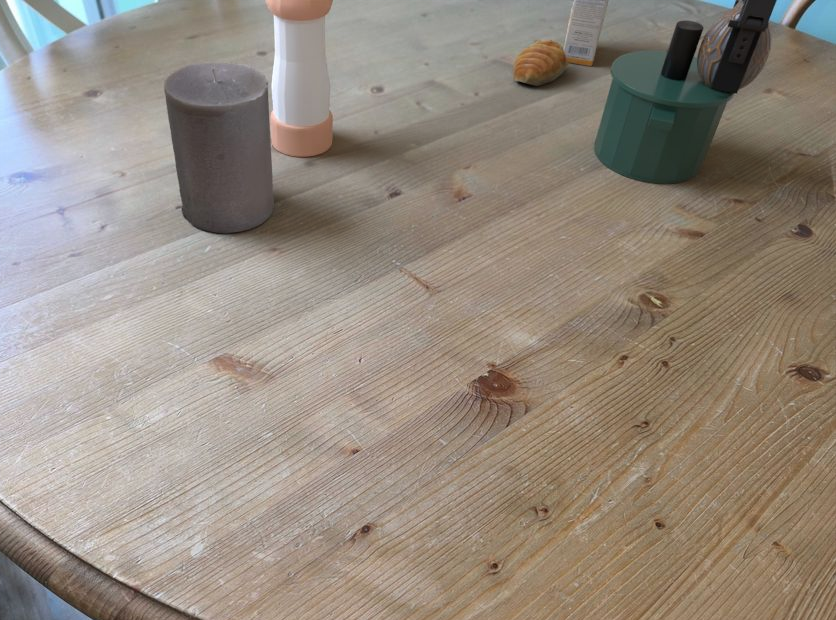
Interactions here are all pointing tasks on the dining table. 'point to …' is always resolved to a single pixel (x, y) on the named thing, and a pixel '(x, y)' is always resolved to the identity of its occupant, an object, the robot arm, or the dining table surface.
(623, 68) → the lid
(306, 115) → the salt shaker
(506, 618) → the dining table surface
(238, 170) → the pillar candle
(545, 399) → the dining table surface
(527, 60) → the pastry
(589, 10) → the supplement box
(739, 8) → the vase
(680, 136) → the pot
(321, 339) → the dining table surface
